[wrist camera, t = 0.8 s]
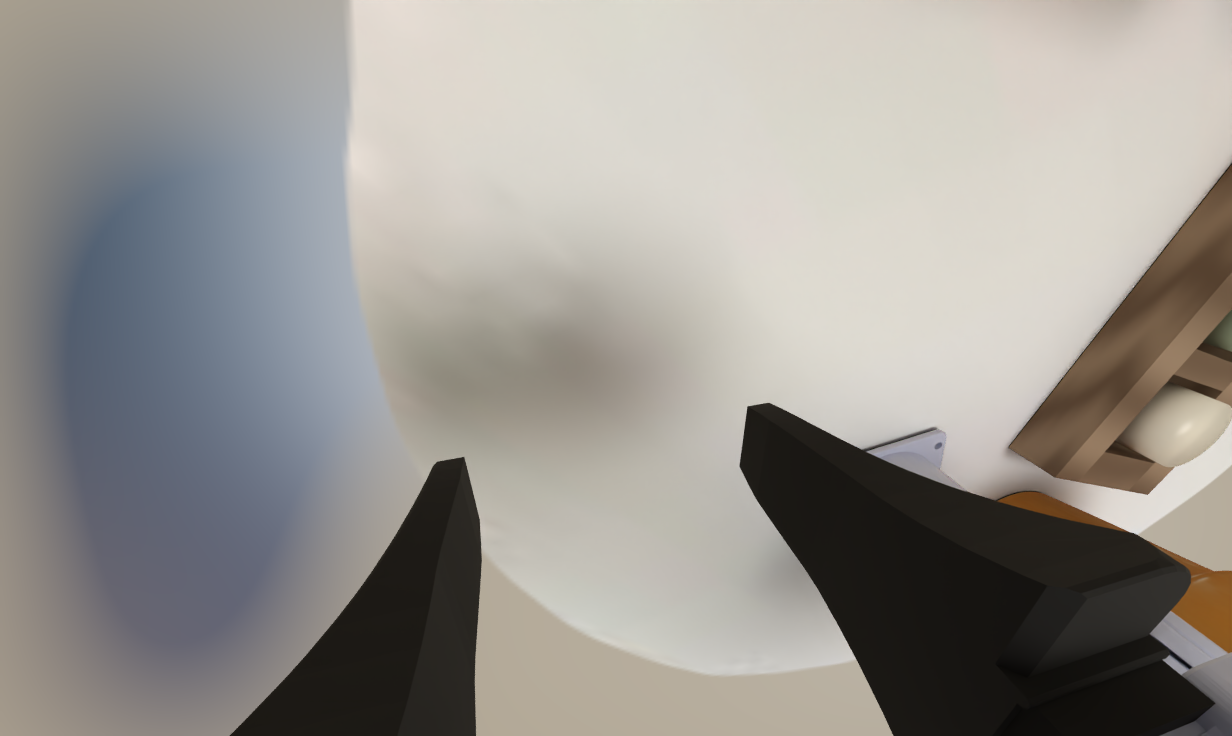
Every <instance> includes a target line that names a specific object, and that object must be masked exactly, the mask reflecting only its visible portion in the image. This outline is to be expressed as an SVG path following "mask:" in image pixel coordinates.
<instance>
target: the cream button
mask: <svg viewBox="0 0 1232 736" xmlns="http://www.w3.org/2000/svg"><path fill="white" fill-rule="evenodd" d="M1231 418H1232V408H1231V406H1230V405H1228V404H1225V403H1223V402H1220V401H1218V400H1215V399H1213V398H1210V397H1208V396H1205V395H1202V394H1200V393H1197V392H1195V391H1192V390H1190V389H1187V388H1185V387H1182V386H1179V385H1177V384H1174V383H1172V382H1169V381H1167V382H1166V384H1165V385H1164V386H1163V387H1162V388H1161V389H1160V390H1159V391H1158V393H1157V394H1156V395H1155V396H1154V397H1153V398H1152V399H1151V400H1150V402H1149V403H1148V404H1147V405H1146V406H1145V407H1144V408H1143V409H1142V411H1141V412H1140V413H1139V414H1138V415H1137V416H1136V417H1135V418H1134V420H1133V421H1132V422H1131V423H1130V424H1129V425H1128V426H1127V427H1126V429H1125V430H1124V431H1123V432H1122V433H1121V434H1120V435H1119V436H1118V438H1117V439H1116V440H1115V441H1117V442H1119V443H1120V444H1122V445H1124V446H1126V447H1128V448H1130V449H1132V450H1134V451H1136V452H1138V453H1140V454H1141V455H1143V456H1145V457H1147V458H1149V459H1151V460H1153V461H1155V462H1157V463H1159V464H1161V465H1163V466H1165V467H1176V466H1179V465H1182V464H1185V463H1187V462H1189V461H1191V460H1193V459H1194V458H1196V457H1197V456H1199V455H1200V454H1202V453H1203V452H1204V451H1206V450H1207V449H1208V448H1209V447H1210V446H1212V445H1213V444H1214V443H1215V442H1216V441H1217V440H1218V439H1219V437H1220V436H1221V435H1222V434H1223V433H1224V431H1225V430H1226V428H1227V427H1228V425H1229V423H1230V421H1231Z"/></svg>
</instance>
